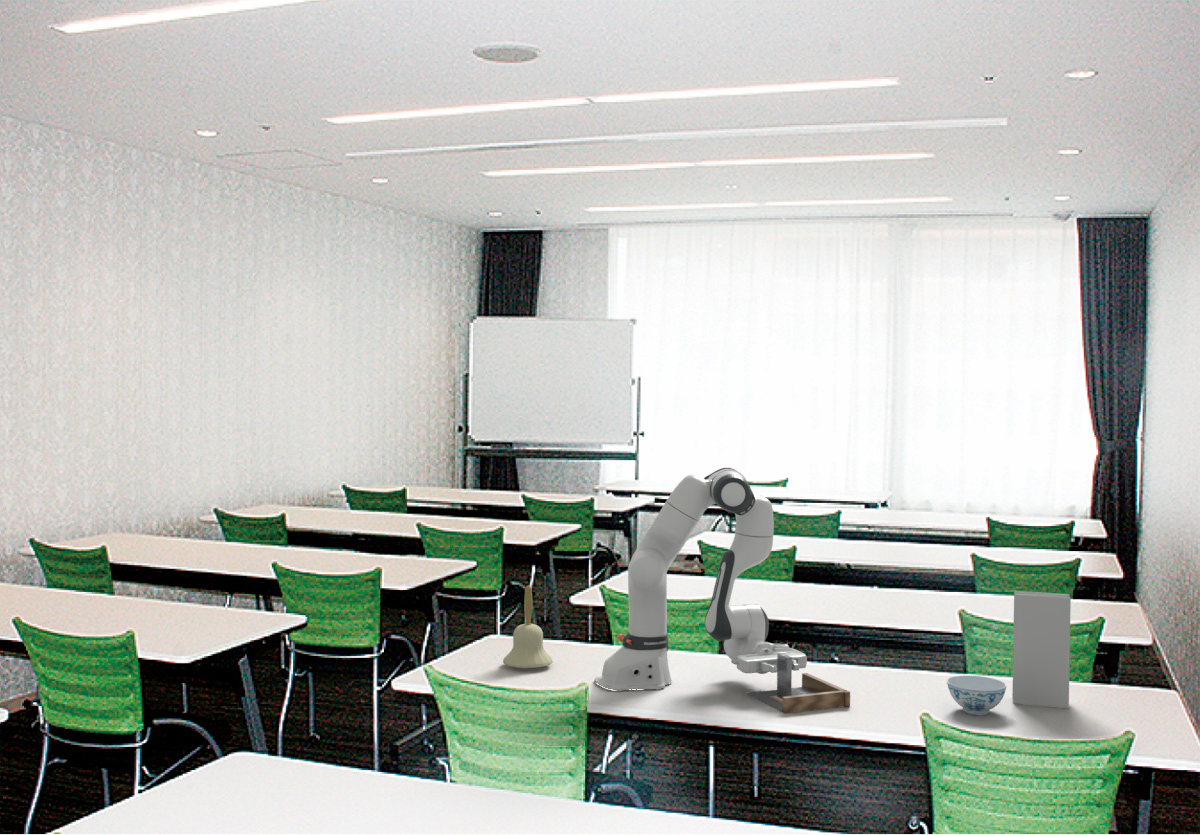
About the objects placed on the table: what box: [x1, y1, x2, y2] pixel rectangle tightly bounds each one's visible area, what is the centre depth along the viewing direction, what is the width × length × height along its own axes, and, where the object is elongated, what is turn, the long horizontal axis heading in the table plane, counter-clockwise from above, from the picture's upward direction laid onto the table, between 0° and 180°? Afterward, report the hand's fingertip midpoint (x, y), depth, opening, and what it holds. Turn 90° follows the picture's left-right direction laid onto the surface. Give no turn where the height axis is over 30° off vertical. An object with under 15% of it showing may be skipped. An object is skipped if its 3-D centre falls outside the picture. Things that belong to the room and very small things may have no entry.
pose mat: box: [747, 686, 815, 712], centre depth 307 cm, size 18×18×1 cm
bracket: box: [776, 653, 806, 699], centre depth 307 cm, size 7×5×12 cm
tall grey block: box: [1011, 590, 1072, 709], centre depth 305 cm, size 14×6×30 cm, turn 71°
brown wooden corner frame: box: [781, 672, 851, 714], centre depth 307 cm, size 20×22×4 cm
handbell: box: [502, 585, 554, 669], centre depth 341 cm, size 15×15×25 cm
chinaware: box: [946, 675, 1007, 716], centre depth 297 cm, size 15×15×8 cm
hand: (786, 668), depth 305 cm, fingers open, 5 cm apart
